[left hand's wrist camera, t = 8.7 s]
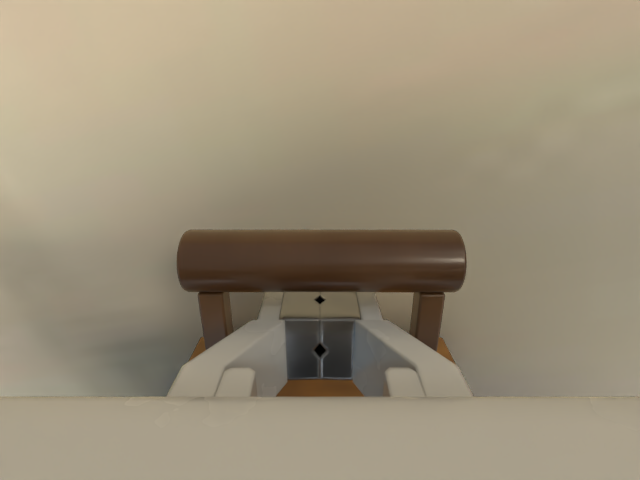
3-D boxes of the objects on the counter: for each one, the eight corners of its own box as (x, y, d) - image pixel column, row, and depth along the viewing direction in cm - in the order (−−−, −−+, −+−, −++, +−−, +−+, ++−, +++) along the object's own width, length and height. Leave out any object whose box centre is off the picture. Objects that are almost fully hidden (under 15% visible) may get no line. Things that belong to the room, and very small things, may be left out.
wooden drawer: (177, 187, 12) (56, 260, 7) (465, 187, 12) (588, 261, 6) (228, 524, 19) (189, 701, 13) (414, 524, 19) (452, 703, 13)
